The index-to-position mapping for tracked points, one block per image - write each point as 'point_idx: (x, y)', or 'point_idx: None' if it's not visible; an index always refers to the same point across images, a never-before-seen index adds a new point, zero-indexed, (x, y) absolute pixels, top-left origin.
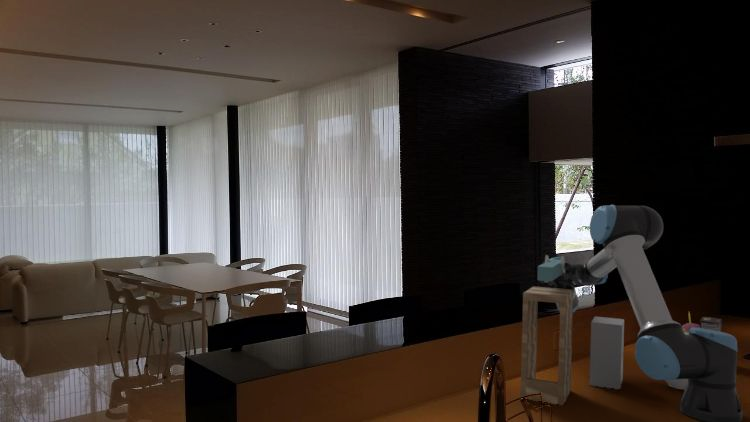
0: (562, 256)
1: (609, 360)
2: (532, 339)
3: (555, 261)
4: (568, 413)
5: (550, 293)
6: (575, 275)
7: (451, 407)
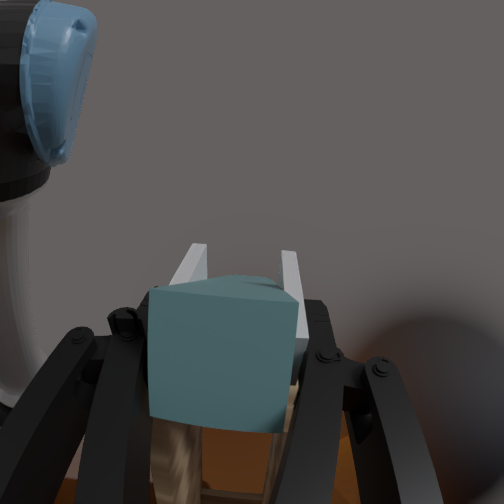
0: (199, 245)
1: None
2: (272, 487)
3: (235, 283)
4: None
5: None
6: (82, 386)
7: (338, 459)
